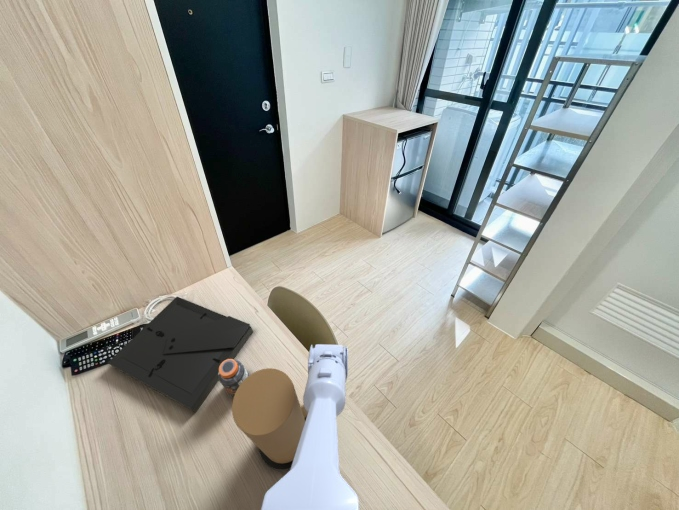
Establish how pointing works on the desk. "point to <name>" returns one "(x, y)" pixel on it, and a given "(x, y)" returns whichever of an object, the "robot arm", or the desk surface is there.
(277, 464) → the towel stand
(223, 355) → the picture frame
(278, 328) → the desk surface
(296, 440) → the tan pedal trash can
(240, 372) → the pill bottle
